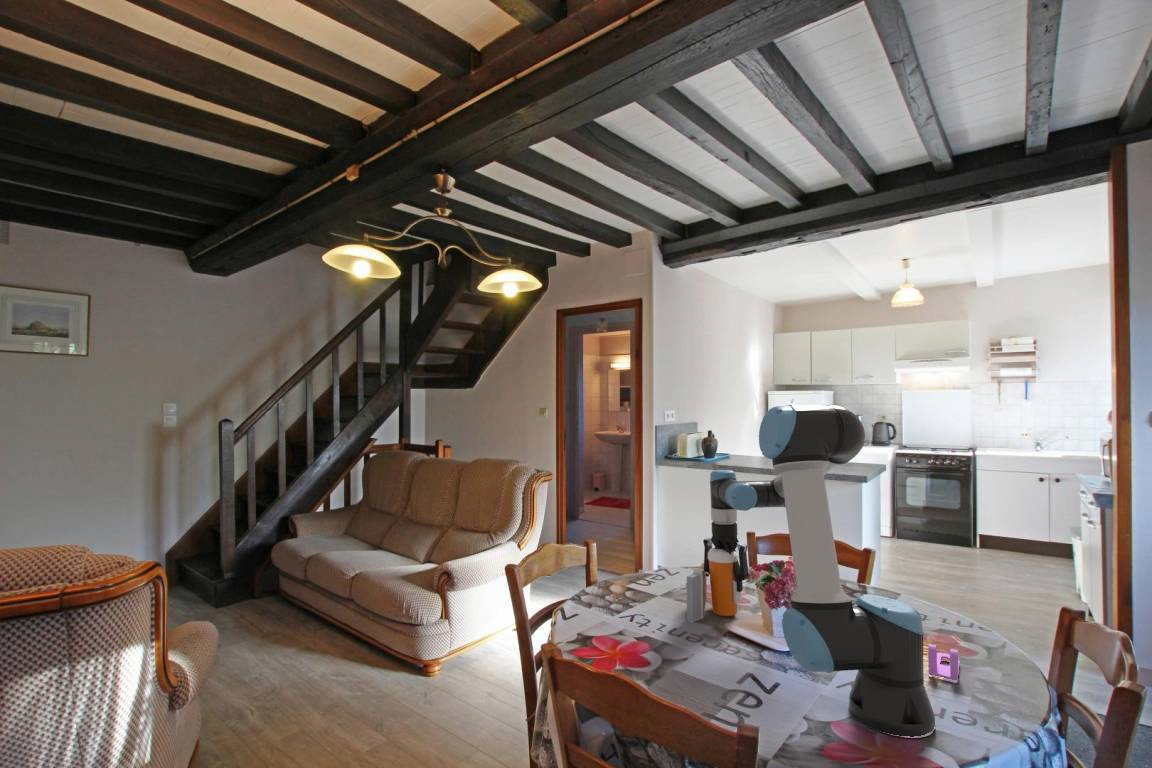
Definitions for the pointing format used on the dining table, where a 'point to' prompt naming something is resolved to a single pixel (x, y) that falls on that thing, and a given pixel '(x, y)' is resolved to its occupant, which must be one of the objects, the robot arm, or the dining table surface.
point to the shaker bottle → (722, 580)
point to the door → (704, 586)
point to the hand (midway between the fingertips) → (726, 599)
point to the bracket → (940, 669)
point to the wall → (695, 596)
